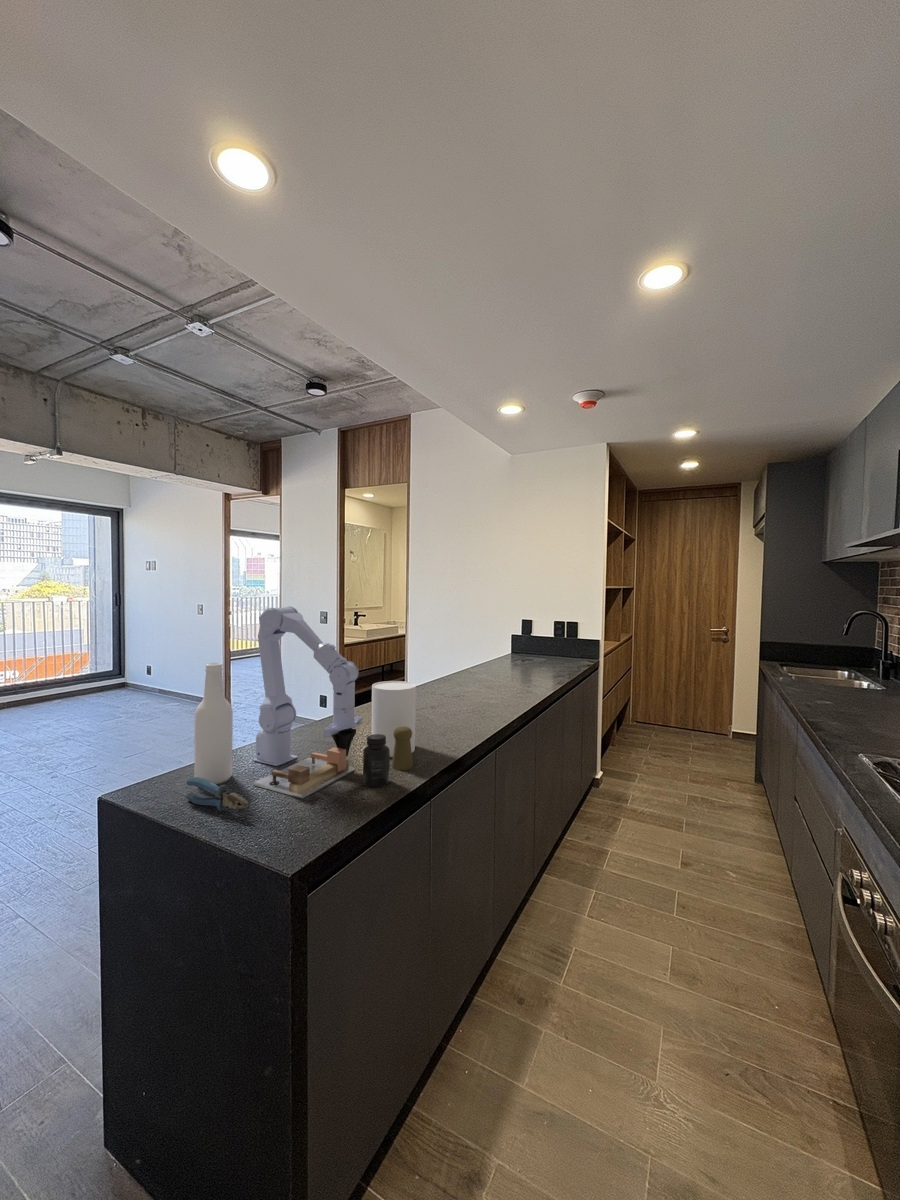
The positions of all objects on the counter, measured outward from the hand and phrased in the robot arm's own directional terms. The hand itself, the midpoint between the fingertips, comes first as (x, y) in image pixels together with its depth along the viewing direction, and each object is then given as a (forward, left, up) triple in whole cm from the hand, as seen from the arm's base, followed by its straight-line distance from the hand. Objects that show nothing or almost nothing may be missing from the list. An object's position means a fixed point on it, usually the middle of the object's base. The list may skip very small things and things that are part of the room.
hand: (343, 756), depth 134 cm
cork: (+13, +10, -4) cm, 17 cm away
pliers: (-10, -32, -4) cm, 34 cm away
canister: (+3, +21, -4) cm, 21 cm away
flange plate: (-5, -9, -4) cm, 11 cm away
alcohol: (-25, -21, -4) cm, 33 cm away
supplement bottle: (+13, -3, -4) cm, 14 cm away
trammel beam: (-3, -9, -3) cm, 10 cm away
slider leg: (-3, -3, -2) cm, 5 cm away
